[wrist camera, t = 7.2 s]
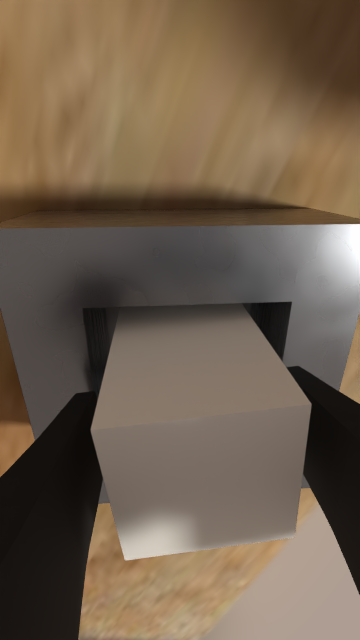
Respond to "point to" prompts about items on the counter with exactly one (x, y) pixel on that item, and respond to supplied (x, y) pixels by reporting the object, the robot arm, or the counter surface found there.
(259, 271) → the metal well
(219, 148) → the counter surface
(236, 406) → the ivory block
